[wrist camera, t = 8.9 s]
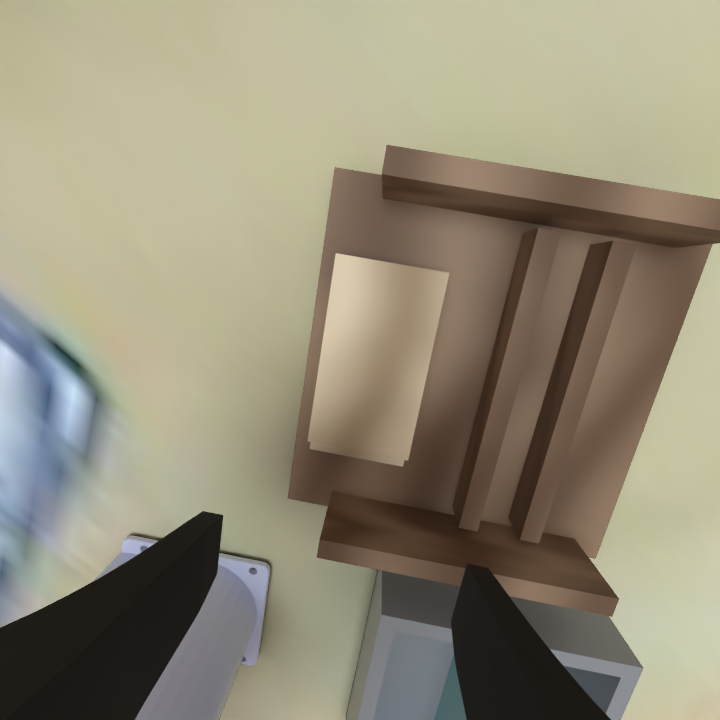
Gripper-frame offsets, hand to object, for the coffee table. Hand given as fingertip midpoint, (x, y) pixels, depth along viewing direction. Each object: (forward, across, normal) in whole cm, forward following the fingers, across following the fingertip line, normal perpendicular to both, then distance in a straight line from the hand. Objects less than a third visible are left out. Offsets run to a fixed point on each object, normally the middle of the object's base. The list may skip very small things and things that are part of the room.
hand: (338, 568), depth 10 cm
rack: (+10, -6, -4) cm, 13 cm away
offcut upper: (+9, 0, -4) cm, 10 cm away
